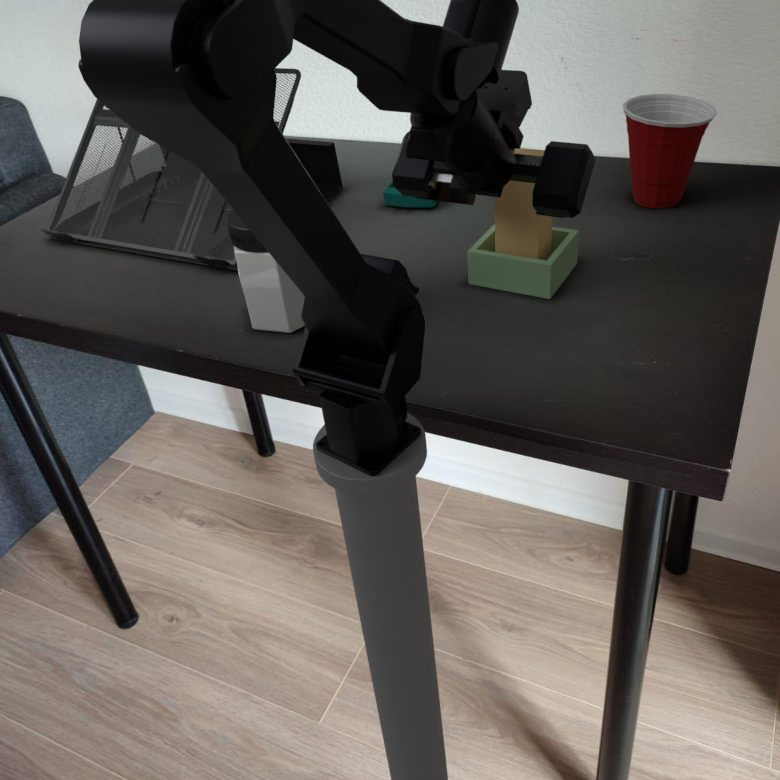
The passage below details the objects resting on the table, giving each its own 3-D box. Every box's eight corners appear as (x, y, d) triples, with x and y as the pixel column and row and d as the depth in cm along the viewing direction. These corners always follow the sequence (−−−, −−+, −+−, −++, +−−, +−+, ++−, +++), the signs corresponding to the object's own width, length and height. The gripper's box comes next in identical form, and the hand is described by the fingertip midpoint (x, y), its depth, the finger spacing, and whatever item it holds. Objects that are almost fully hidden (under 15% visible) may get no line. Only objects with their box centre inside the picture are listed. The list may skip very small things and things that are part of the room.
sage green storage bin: (550, 299, 82) (551, 265, 80) (468, 284, 87) (466, 251, 84) (577, 263, 88) (579, 230, 86) (499, 250, 92) (498, 218, 90)
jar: (247, 300, 89) (224, 202, 82) (318, 287, 90) (300, 189, 82) (252, 341, 82) (226, 237, 74) (328, 326, 82) (310, 222, 75)
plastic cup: (701, 220, 94) (716, 120, 87) (609, 215, 97) (616, 118, 90) (705, 185, 102) (719, 91, 94) (620, 181, 105) (628, 90, 98)
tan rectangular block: (538, 281, 85) (540, 165, 77) (494, 273, 87) (492, 160, 79) (552, 264, 87) (555, 151, 80) (509, 257, 90) (508, 146, 82)
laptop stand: (42, 243, 107) (-12, 110, 97) (172, 169, 127) (139, 51, 116) (232, 277, 94) (195, 126, 83) (346, 188, 113) (328, 55, 102)
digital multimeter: (382, 209, 106) (380, 189, 104) (415, 168, 117) (413, 148, 115) (433, 212, 103) (432, 191, 102) (462, 169, 114) (461, 150, 112)
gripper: (595, 50, 62) (624, 140, 76) (395, 43, 71) (454, 126, 85) (557, 180, 62) (593, 247, 76) (360, 157, 70) (425, 222, 84)
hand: (513, 205), depth 80 cm, fingers open, 9 cm apart
